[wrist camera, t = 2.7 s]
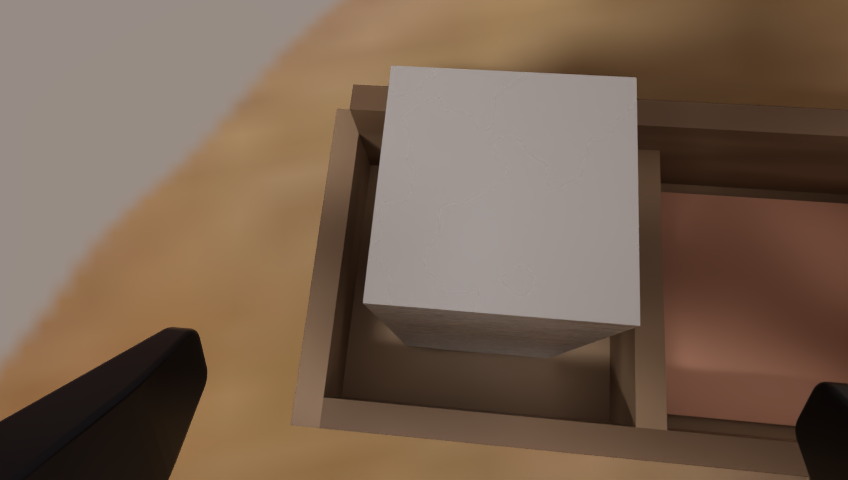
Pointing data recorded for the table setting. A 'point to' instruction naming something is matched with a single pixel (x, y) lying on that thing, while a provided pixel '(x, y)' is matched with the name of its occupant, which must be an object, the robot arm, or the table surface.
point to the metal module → (506, 211)
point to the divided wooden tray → (659, 304)
